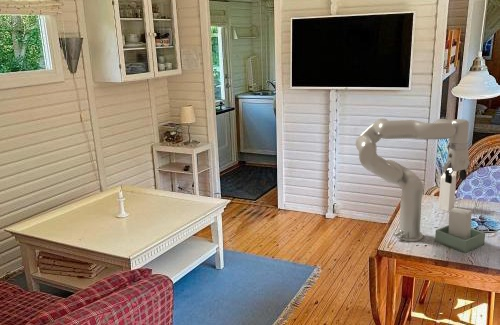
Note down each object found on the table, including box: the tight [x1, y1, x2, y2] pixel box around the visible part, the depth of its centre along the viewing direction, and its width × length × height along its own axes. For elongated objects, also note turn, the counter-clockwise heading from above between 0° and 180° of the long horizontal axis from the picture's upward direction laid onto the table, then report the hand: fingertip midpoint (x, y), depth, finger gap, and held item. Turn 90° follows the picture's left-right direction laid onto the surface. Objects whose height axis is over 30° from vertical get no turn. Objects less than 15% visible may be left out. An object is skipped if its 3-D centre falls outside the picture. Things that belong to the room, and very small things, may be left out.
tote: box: [434, 224, 486, 254], centre depth 211 cm, size 15×16×6 cm
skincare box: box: [448, 206, 472, 240], centre depth 209 cm, size 8×7×16 cm
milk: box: [438, 172, 457, 212], centre depth 250 cm, size 6×6×22 cm
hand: (455, 180), depth 212 cm, fingers open, 9 cm apart
